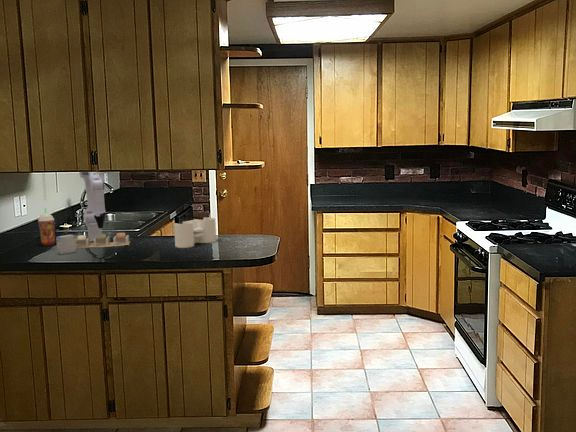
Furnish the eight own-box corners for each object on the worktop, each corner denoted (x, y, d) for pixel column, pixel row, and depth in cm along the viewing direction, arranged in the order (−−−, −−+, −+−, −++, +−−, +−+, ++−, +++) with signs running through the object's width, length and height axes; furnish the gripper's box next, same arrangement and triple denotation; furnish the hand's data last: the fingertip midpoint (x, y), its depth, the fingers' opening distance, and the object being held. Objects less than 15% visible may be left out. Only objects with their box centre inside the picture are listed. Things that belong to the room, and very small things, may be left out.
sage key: (98, 241, 327) (97, 234, 327) (106, 241, 328) (106, 233, 327) (97, 243, 323) (96, 235, 322) (105, 242, 323) (105, 235, 323)
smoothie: (37, 245, 334) (34, 208, 332) (52, 242, 340) (48, 206, 338) (44, 246, 329) (41, 209, 326) (59, 244, 335) (56, 207, 332)
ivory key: (78, 242, 325) (78, 235, 325) (87, 242, 326) (86, 234, 326) (77, 244, 321) (76, 236, 321) (85, 243, 322) (85, 236, 321)
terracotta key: (117, 240, 329) (116, 233, 328) (126, 239, 329) (125, 232, 329) (116, 241, 324) (116, 234, 324) (125, 241, 325) (124, 233, 324)
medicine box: (71, 251, 312) (70, 234, 311) (76, 252, 309) (75, 235, 308) (57, 253, 306) (55, 236, 305) (62, 254, 303) (60, 237, 302)
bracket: (186, 248, 308) (184, 224, 306) (172, 247, 314) (171, 223, 312) (220, 240, 327) (219, 218, 326) (207, 239, 333) (205, 217, 332)
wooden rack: (76, 245, 329) (75, 237, 329) (130, 241, 334) (129, 234, 333) (72, 249, 317) (71, 241, 317) (128, 245, 322) (127, 238, 321)
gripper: (92, 201, 329) (94, 226, 331) (88, 204, 315) (90, 230, 317) (106, 200, 330) (108, 225, 332) (103, 203, 316) (105, 229, 318)
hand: (100, 228), depth 324 cm, fingers closed
